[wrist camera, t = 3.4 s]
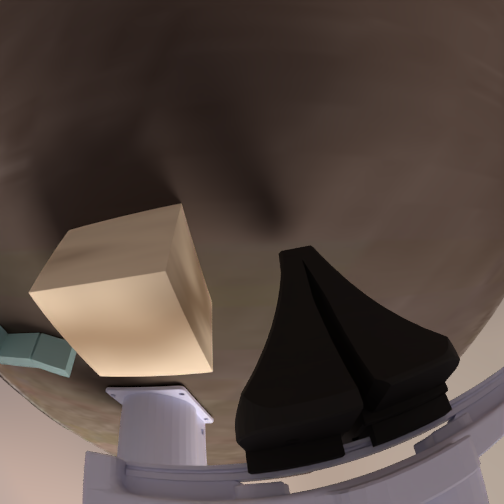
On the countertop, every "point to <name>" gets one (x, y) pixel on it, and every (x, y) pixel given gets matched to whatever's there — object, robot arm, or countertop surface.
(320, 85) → the countertop surface
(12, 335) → the dock
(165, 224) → the birch block
